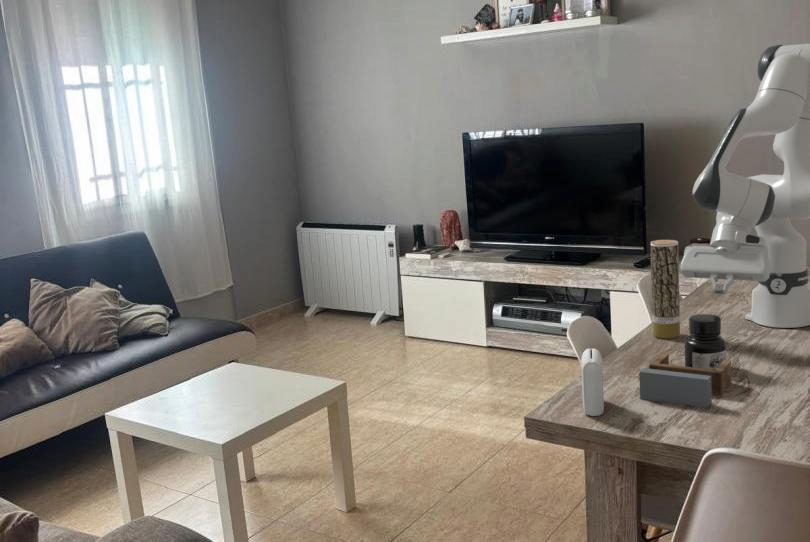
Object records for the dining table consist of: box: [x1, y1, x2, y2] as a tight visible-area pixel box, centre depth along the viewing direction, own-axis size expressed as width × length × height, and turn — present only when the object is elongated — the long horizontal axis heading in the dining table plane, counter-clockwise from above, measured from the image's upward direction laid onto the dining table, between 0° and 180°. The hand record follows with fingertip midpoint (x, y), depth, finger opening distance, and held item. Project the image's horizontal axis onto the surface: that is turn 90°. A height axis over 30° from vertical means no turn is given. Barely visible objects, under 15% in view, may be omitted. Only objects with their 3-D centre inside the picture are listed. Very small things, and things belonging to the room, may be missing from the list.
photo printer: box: [580, 348, 605, 417], centre depth 170 cm, size 10×4×12 cm, turn 168°
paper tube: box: [650, 239, 681, 340], centre depth 213 cm, size 7×7×25 cm
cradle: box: [648, 353, 732, 396], centre depth 179 cm, size 8×15×5 cm, turn 55°
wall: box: [638, 367, 713, 409], centre depth 170 cm, size 2×14×6 cm, turn 55°
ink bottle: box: [684, 313, 727, 370], centre depth 187 cm, size 10×9×12 cm
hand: (719, 292), depth 195 cm, fingers closed
